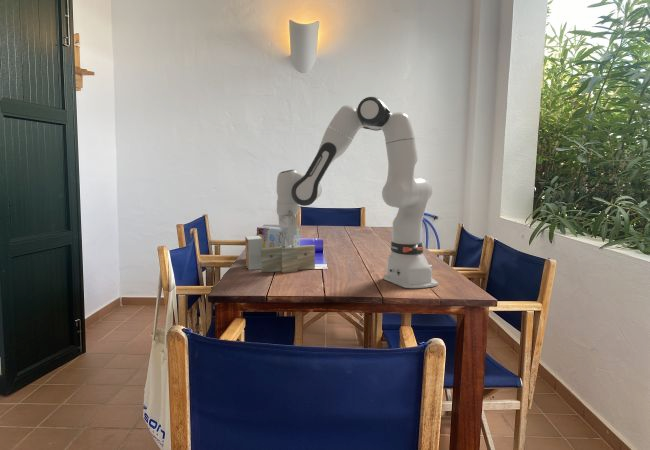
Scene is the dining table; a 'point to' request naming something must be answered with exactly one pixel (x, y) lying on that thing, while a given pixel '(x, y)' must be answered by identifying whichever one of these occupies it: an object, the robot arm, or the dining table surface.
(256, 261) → the small box
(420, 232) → the robot arm
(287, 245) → the hinge pin
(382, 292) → the dining table surface
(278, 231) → the snack box
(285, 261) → the hinge
